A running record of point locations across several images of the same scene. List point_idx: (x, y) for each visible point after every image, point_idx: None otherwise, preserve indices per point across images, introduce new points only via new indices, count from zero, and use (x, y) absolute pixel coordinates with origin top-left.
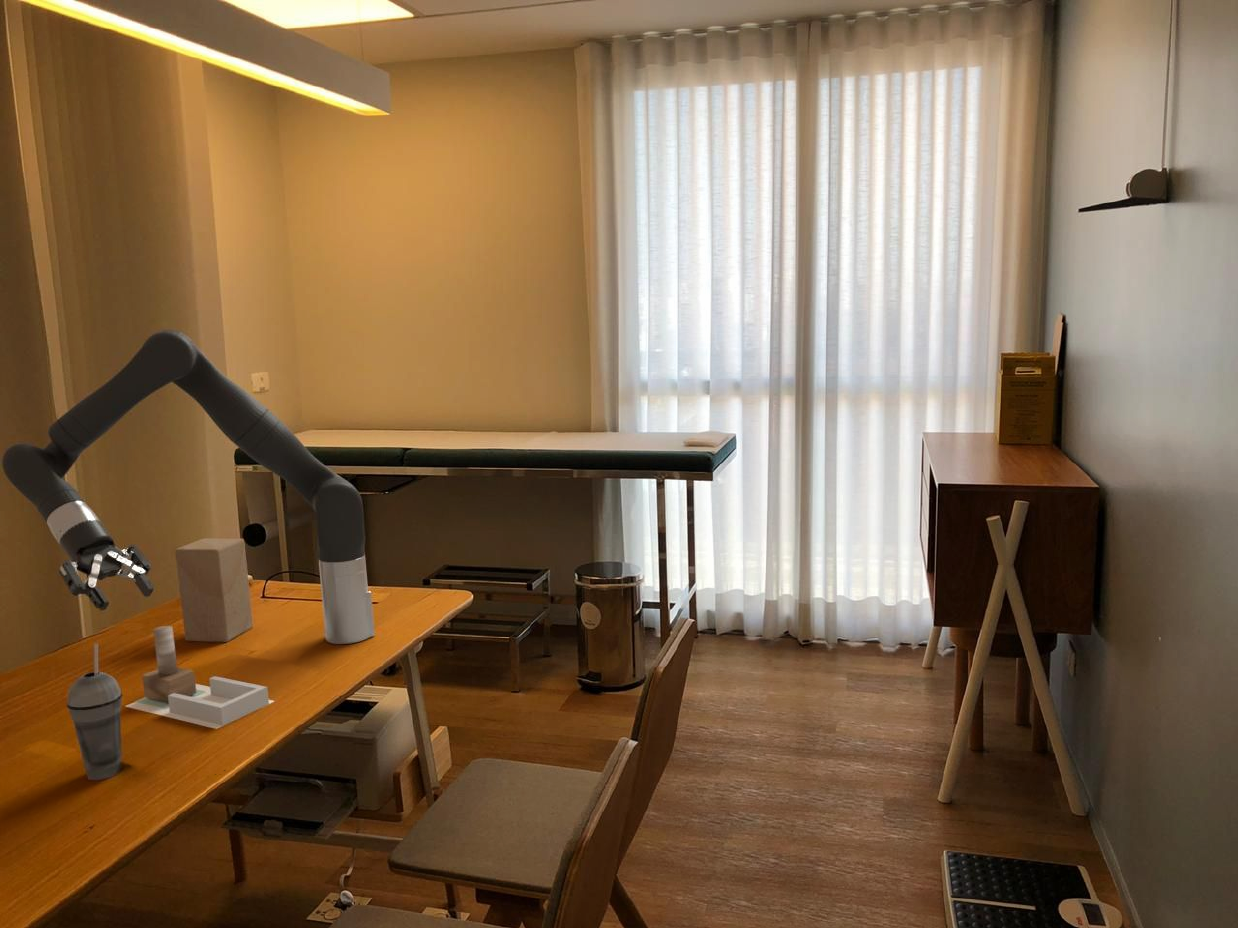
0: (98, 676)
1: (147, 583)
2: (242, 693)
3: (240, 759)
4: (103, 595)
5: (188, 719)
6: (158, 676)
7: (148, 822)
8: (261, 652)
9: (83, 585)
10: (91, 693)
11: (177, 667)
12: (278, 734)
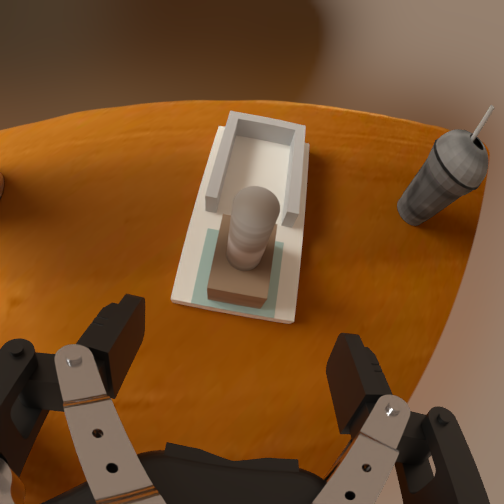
0: (472, 133)
1: (122, 311)
2: (231, 147)
3: (332, 112)
4: (355, 354)
5: (301, 187)
6: (264, 259)
7: (424, 131)
8: (15, 284)
9: (429, 412)
10: (473, 142)
11: (213, 257)
12: (277, 105)
